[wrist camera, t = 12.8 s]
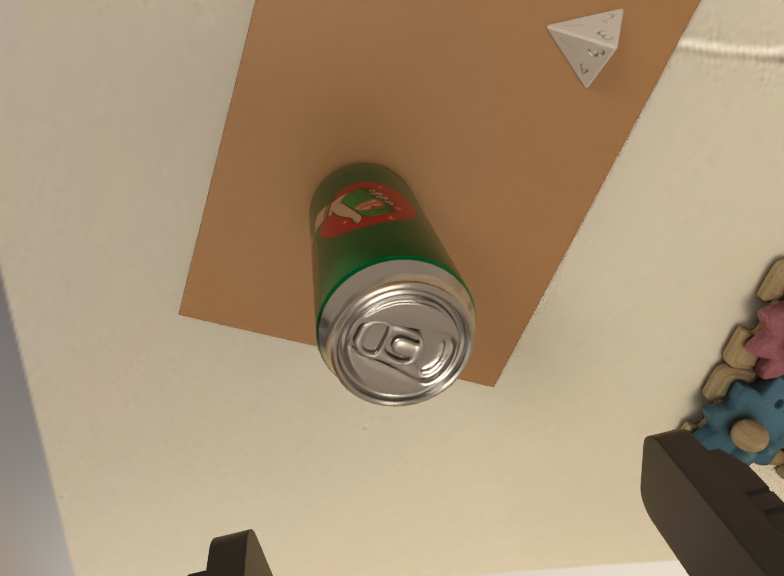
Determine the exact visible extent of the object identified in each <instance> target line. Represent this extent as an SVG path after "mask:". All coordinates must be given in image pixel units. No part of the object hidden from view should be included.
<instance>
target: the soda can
mask: <svg viewBox="0 0 784 576" xmlns="http://www.w3.org/2000/svg"><path fill="white" fill-rule="evenodd" d="M309 222H310V240H311V258H312V275H313V293H314V311H315V329H316V340H317V345H318V350H319V352H320V354H321V357H322V359H323V361H324V362H325V364H326V365H327V367H328V368H329V369H330V370H331V372H332V373H333V374H334V375H335V376H336V377H338V379H339V380H340V382H341V383H342V384H343V385H344V386H345V387H346V388H347V390H349V391H350V392H351V393H353V394H354V395H355V396H357V397H359V398H361V399H363V400H365V401H368V402H370V403H373V404H378V405H383V406H407V405H412V404H417V403H420V402H423V401H426V400H428V399H430V398H432V397H435V396H436V395H438V394H440V393H441V392H443V391H445V390H446V389H447V388H448V387H449V386H451V385H452V384H453V383H454V382H455V381H456V380H457V379H458V378H459V377H460V375H461V374H462V372H463V371H464V369H465V368H466V366H467V364H468V362H469V360H470V357H471V354H472V351H473V343H474V334H475V329H476V308H475V304H474V300H473V298H472V295H471V293H470V291H469V289H468V287H467V285H466V284H465V282H464V280H463V279H462V277H461V275H460V273H459V272H458V270H457V268H456V266H455V265H454V263H453V261H452V260H451V258H450V256H449V254H448V253H447V251H446V249H445V248H444V246H443V244H442V242H441V241H440V239H439V237H438V235H437V234H436V232H435V230H434V229H433V227H432V225H431V223H430V222H429V220H428V218H427V217H426V215H425V213H424V211H423V210H422V208H421V206H420V205H419V203H418V201H417V199H416V198H415V196H414V194H413V192H412V191H411V189H410V187H409V186H408V185H407V183H406V182H405V181H404V180H403V179H402V177H401V176H399V175H398V174H397V173H395V172H394V171H393V170H391V169H389V168H387V167H384V166H381V165H378V164H373V163H355V164H350V165H347V166H344V167H342V168H340V169H338V170H336V171H334V172H333V173H331V174H330V175H328V176H327V177H326V178H325V179H324V180H323V181H322V182H321V184H320V185H319V186H318V188H317V189H316V191H315V193H314V195H313V198H312V201H311V204H310V210H309Z"/></svg>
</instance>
